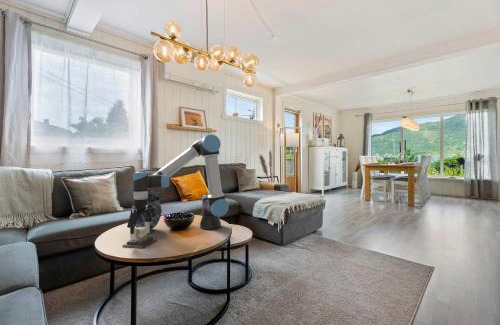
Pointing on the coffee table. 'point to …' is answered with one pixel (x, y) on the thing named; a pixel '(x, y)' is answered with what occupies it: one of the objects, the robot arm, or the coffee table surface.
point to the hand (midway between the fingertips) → (140, 236)
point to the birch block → (141, 234)
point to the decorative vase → (151, 210)
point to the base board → (140, 243)
